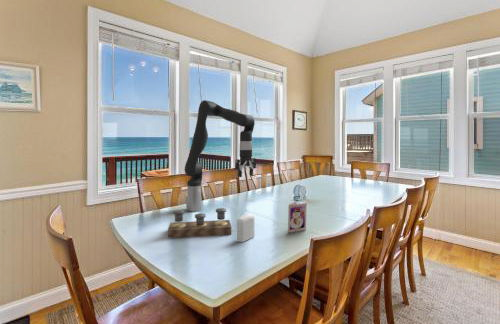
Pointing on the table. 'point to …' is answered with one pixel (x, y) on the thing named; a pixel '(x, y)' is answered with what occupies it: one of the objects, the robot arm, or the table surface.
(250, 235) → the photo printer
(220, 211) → the right knob
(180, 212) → the left knob
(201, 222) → the middle knob
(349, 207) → the table surface
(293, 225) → the greeting card
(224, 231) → the mount board
